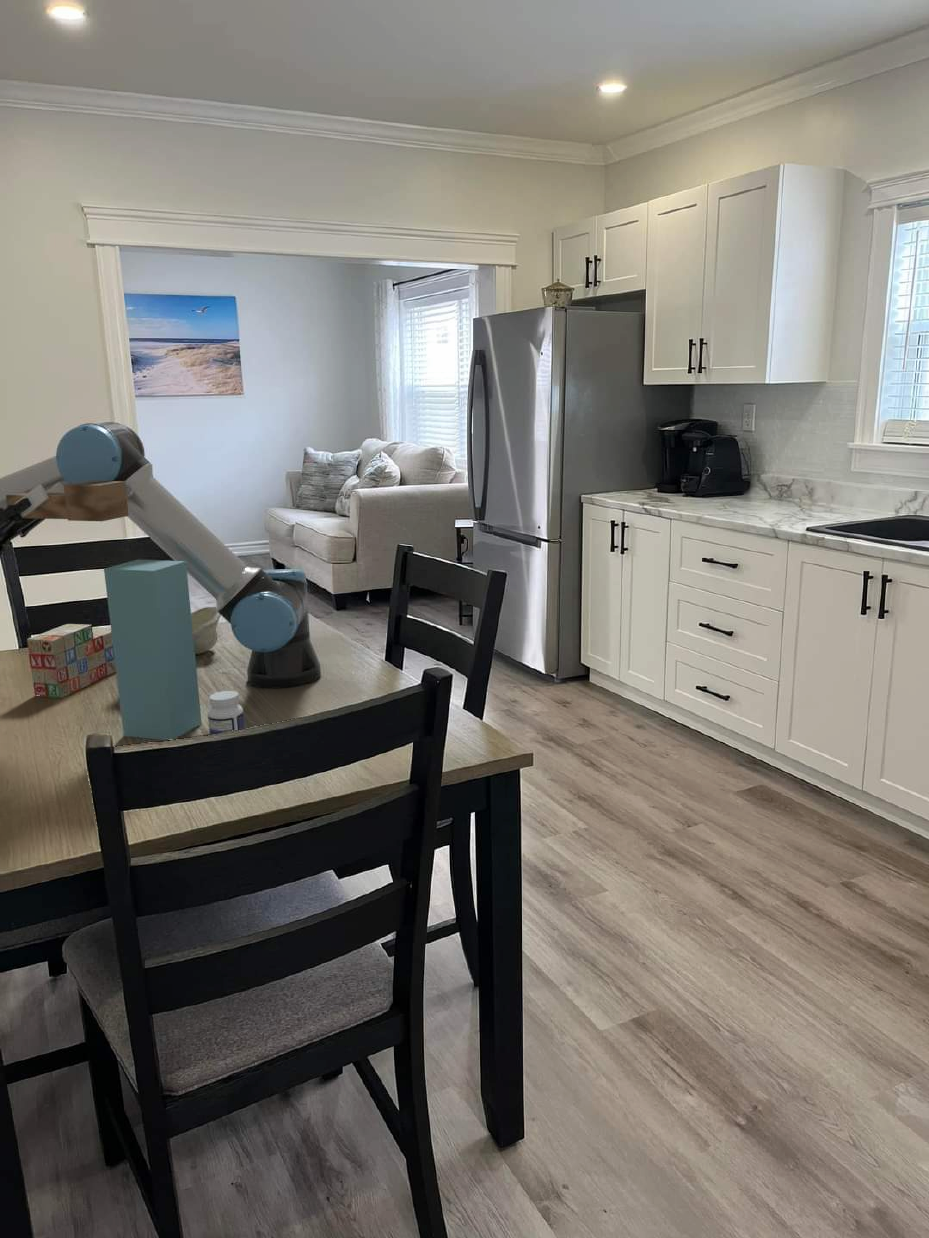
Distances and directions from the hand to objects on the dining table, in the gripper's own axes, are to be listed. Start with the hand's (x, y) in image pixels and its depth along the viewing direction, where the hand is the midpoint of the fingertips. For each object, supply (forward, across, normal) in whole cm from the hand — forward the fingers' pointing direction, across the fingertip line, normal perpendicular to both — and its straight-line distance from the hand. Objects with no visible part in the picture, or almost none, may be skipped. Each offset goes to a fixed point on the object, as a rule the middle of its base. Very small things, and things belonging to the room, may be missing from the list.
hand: (53, 490), depth 162 cm
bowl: (-27, -46, -34) cm, 63 cm away
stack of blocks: (-37, -21, -28) cm, 51 cm away
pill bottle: (+9, +6, -54) cm, 56 cm away
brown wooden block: (-1, 0, -5) cm, 5 cm away
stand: (-6, 0, -46) cm, 46 cm away
